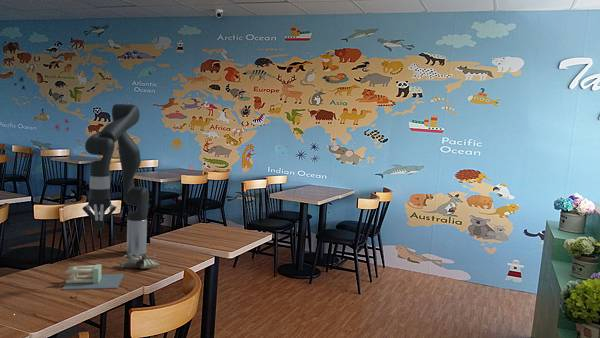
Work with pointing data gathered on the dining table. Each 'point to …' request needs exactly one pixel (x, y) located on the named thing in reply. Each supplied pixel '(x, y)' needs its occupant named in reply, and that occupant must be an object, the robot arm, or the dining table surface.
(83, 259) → the dining table surface
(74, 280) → the stool
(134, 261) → the figurine
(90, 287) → the mat
